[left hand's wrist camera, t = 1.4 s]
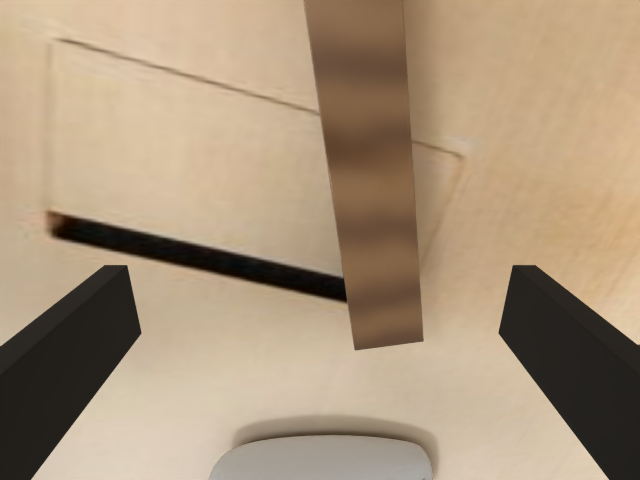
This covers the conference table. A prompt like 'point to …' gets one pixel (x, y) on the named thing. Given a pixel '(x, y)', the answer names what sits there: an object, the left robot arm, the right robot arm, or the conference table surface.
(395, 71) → the beam
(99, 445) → the conference table surface
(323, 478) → the projector
